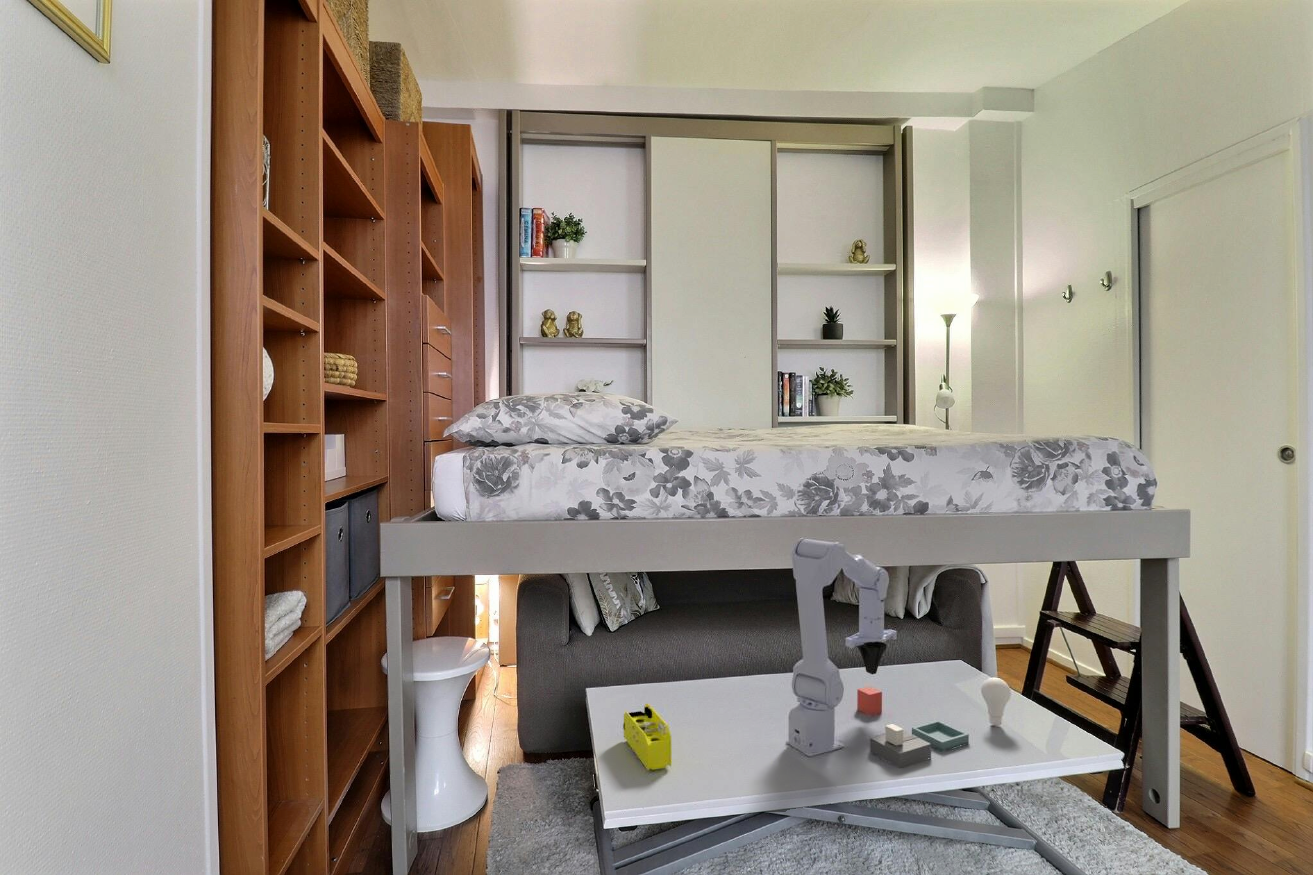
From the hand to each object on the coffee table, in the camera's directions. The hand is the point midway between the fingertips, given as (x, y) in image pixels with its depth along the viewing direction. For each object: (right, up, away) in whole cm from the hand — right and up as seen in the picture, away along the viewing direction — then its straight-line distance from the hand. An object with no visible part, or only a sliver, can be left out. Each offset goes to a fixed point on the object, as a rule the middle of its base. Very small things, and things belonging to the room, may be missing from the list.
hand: (871, 672), depth 173 cm
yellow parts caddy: (-53, -11, -21) cm, 58 cm away
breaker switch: (-2, -7, -23) cm, 24 cm away
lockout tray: (+10, -10, -15) cm, 21 cm away
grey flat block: (-1, -10, -22) cm, 24 cm away
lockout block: (0, -10, +1) cm, 10 cm away
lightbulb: (+26, -10, -8) cm, 29 cm away
